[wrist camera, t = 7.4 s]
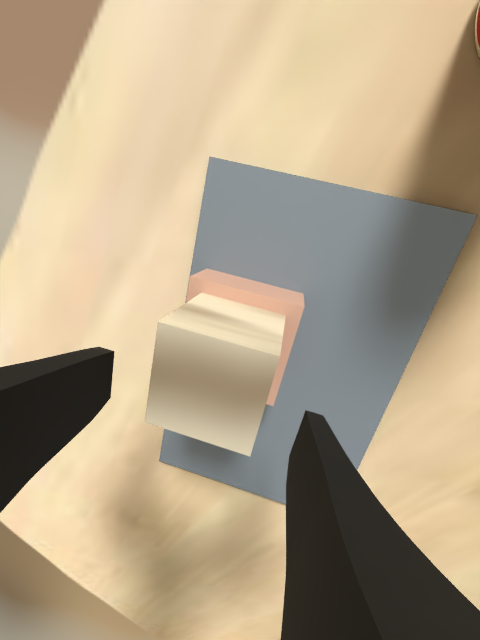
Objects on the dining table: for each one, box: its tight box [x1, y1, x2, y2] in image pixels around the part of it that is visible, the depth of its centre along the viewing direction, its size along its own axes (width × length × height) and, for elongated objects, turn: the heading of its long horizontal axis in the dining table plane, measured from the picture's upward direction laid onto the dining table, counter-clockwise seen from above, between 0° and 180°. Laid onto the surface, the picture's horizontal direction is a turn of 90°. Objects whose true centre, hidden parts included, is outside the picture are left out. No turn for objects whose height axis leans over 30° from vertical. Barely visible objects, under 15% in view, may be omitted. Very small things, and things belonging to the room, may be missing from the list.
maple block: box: [145, 293, 286, 456], centre depth 13 cm, size 4×4×5 cm
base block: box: [186, 269, 305, 406], centre depth 17 cm, size 6×6×3 cm
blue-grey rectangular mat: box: [159, 157, 478, 504], centre depth 19 cm, size 22×14×1 cm, turn 166°
